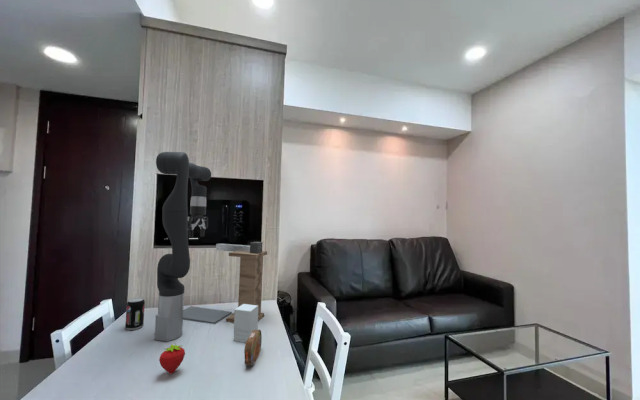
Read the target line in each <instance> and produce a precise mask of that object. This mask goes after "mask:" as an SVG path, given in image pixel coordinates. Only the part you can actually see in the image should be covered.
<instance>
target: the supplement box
mask: <svg viewBox="0 0 640 400" xmlns="http://www.w3.org/2000/svg"><path fill="white" fill-rule="evenodd" d="M233 313H234V323H233V341H234V342H235V341H236V342H241V343H246V341H247V339H248V337H249V336H250V334H251V332H252V331H253V330H259V329H258V328H259V321H258V305H249V304H242V305H241V306H239V307H238V306H237V307H236V308H234V312H233Z"/></svg>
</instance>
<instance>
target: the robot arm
mask: <svg viewBox="0 0 640 400" xmlns="http://www.w3.org/2000/svg"><path fill="white" fill-rule="evenodd" d="M155 164H156V165H155V166H156V169H157V170H158V171H159V172H160V173H161V174H162V175H163V174H164V175H176V179H175V183H174V184H175V185H174V188H173V189H172V191H171V193H170V194H169V195H168V197H167V198H166V200H165V201H164V202H163V205H162V217H161V218H162V226H163V228H164V230H165V233H166V234H167V237H168V238H169V241H170V244H171V253H166V254H164V255H162V256H161V257H160V259H159V260H158V262H157V268H156V270H157V271H156V280H157V281H156V284H157V285H156V286H157V289H158V307H157V314H156V315H155V321H154V323H155V324H154V325H155V326H154V339H153V340H155V341H160V342H161V341H162V342H169V341H174V340H177V339H178V338H180V337H182V335H183V327H184V326H183V323H184V321H183V320H184V319H183V310H184V304H185V303H184V302H185V285H184V284H183V283H182V282H181V281H180V280H179V279H182V278H184V277H186V276H187V274H189V271H190V268H191V257H190V249H189V238H190V239H192V238H194V229H195V227H197V226H198V227H199V228H200V230H199V236H200V237H203V238H204V237H205V235H206V234H205V233H206V229H208V228H209V216H205V215H207V214H206V213H207V187H206V186H205V185H203V184H202V185H201V184H199V183H198V182H208V181H210V180H211V178H212V172H211V169H210V168H208V167H206V166H201V165H197V164H195V163H193V162H190V159H189V156H188V154H187V153H186V152H182V151H163V152H160V153H158V155H157V156H156V159H155ZM189 180H190V185H191V197H190V203H189V204H190V207H189V206H188V186H189ZM188 207H189V208H188ZM188 209H189V210H190V211H189V210H188ZM188 211H189V212H188ZM188 215H191V216H188Z"/></svg>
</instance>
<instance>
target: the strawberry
mask: <svg viewBox="0 0 640 400" xmlns="http://www.w3.org/2000/svg"><path fill="white" fill-rule="evenodd" d="M172 342H173V343H174V344H173V343H172V344H170V347H167V348H163V350H164V351H163V352H162V353H161V354H160V356H159V360H158V361H159V364H160V367H162V369H163V370H164V371H166V372H167V373H168V374H170V375H172V374H174V373H175V372H176V371H177V369H179V367H180V365H181V364H182V362H183V361H184V358H185V355H186V351H185V349H184V348H183V345H181V344H180V345H178V344H176V343H175V341H174V340H172Z"/></svg>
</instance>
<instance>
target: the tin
mask: <svg viewBox="0 0 640 400" xmlns="http://www.w3.org/2000/svg"><path fill="white" fill-rule="evenodd" d="M262 340H263V339H262V330H261V329H258V330H253V331H252V332H251V334H250V336H249V337H248V339H247V341H246V342H245V345H244V350H243V353H244V365H245V366H254V365H255V364H256V362H257V359H258V357H259V355H260V353H261V349H262Z"/></svg>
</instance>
